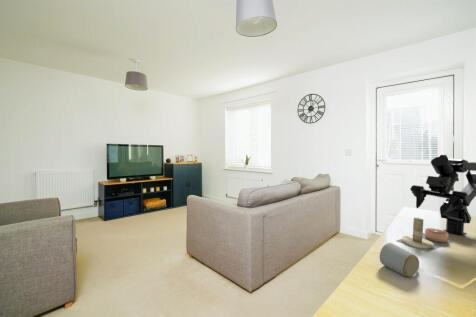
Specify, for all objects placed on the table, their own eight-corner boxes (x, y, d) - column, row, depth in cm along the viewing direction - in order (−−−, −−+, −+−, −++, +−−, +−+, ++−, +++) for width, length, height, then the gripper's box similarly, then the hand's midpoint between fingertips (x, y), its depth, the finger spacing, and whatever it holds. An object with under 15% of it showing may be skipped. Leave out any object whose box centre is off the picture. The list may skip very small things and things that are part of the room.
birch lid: (409, 236, 96) (410, 213, 96) (438, 245, 87) (440, 220, 87) (396, 240, 92) (397, 216, 91) (425, 251, 83) (427, 224, 82)
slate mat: (421, 233, 101) (421, 232, 101) (453, 243, 91) (453, 241, 91) (395, 242, 92) (395, 240, 92) (427, 253, 82) (427, 252, 82)
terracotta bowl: (430, 235, 98) (430, 227, 97) (451, 241, 91) (451, 232, 91) (421, 238, 94) (421, 229, 94) (442, 245, 88) (443, 235, 88)
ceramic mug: (405, 281, 66) (406, 255, 65) (378, 267, 73) (379, 244, 73) (426, 273, 70) (428, 249, 69) (399, 261, 77) (400, 239, 77)
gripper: (413, 167, 102) (397, 193, 98) (468, 171, 85) (452, 203, 81) (422, 183, 106) (407, 209, 102) (477, 190, 89) (461, 221, 85)
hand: (429, 210), depth 92 cm, fingers open, 9 cm apart
